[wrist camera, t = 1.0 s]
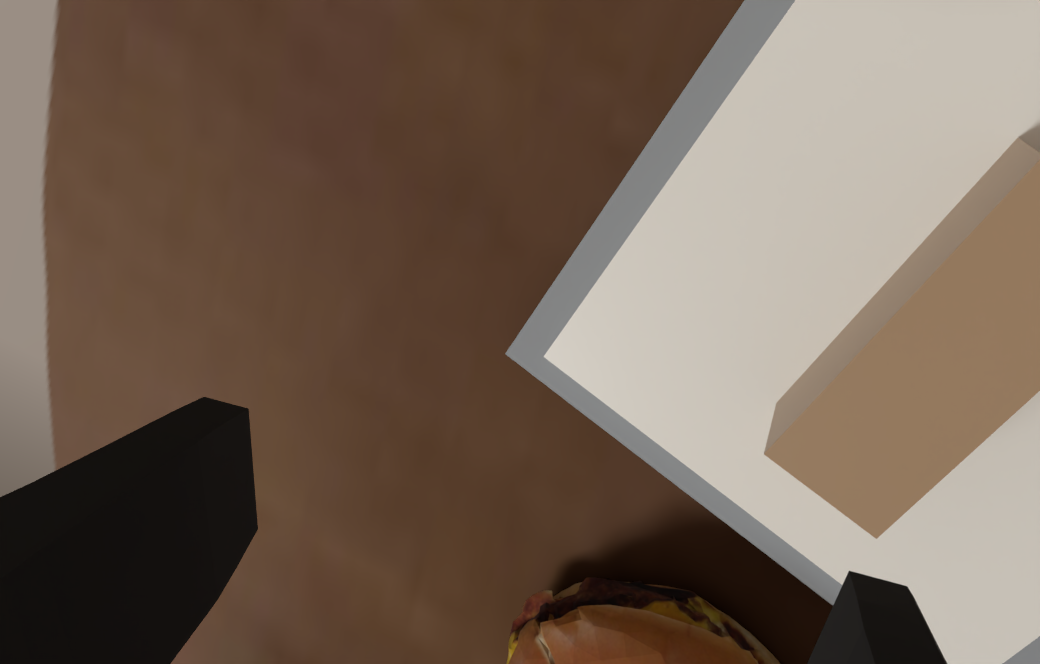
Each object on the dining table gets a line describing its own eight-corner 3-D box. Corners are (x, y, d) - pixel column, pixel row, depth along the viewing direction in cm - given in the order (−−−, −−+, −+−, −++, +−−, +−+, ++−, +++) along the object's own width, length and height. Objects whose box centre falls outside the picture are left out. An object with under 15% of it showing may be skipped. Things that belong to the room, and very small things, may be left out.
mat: (1582, 238, 17) (1622, 250, 16) (971, 689, 24) (974, 714, 23) (889, -204, 18) (890, -216, 17) (517, 342, 26) (505, 354, 25)
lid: (1515, 260, 16) (1672, 314, 13) (970, 669, 23) (987, 773, 20) (897, -141, 18) (904, -178, 15) (550, 349, 24) (502, 397, 21)
